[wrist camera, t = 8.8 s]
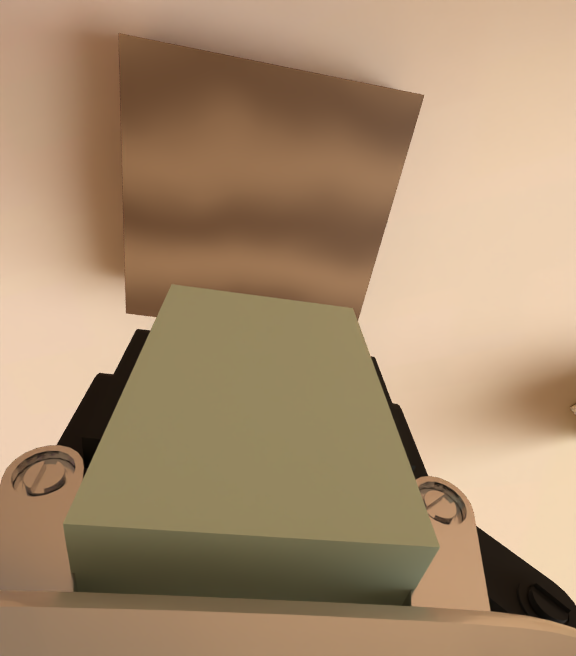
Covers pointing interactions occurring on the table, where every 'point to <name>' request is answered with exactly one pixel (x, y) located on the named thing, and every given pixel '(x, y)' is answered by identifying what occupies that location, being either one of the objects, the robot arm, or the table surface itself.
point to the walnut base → (253, 176)
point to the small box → (573, 409)
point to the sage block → (251, 463)
